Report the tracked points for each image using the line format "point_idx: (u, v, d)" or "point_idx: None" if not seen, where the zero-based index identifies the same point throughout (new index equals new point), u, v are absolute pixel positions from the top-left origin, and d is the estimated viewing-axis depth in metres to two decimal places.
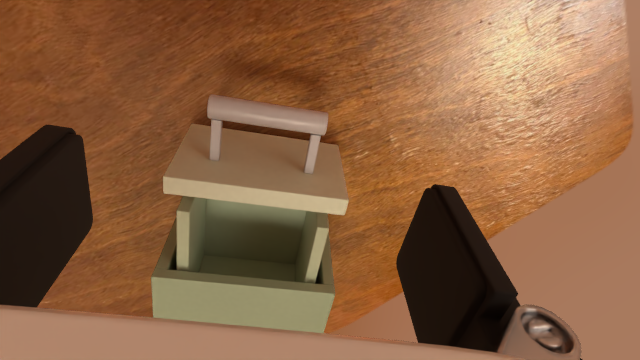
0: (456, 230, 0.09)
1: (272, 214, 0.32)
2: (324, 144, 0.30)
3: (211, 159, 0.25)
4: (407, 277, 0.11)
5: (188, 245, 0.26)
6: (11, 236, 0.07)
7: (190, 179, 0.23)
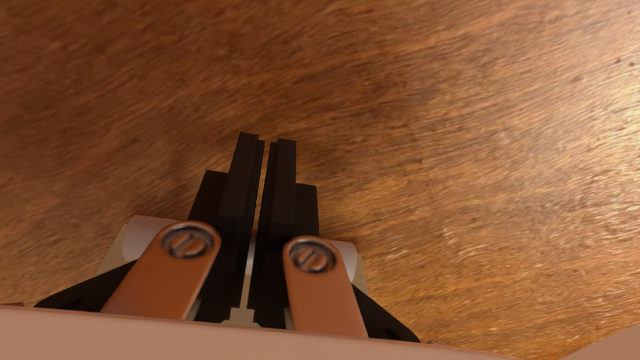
0: (272, 174, 0.10)
1: None
2: None
3: None
4: (257, 229, 0.12)
5: None
6: None
7: None
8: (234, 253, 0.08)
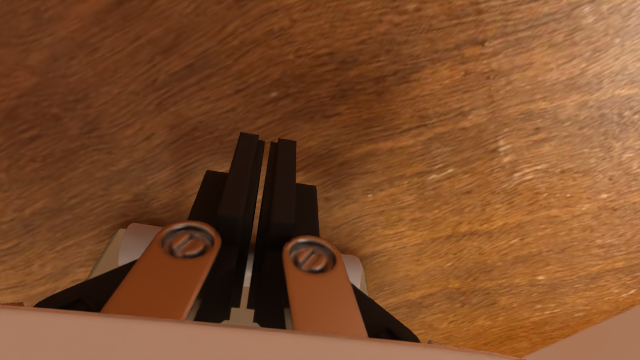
0: (272, 174, 0.10)
1: None
2: None
3: None
4: None
5: None
6: None
7: None
8: (234, 253, 0.08)
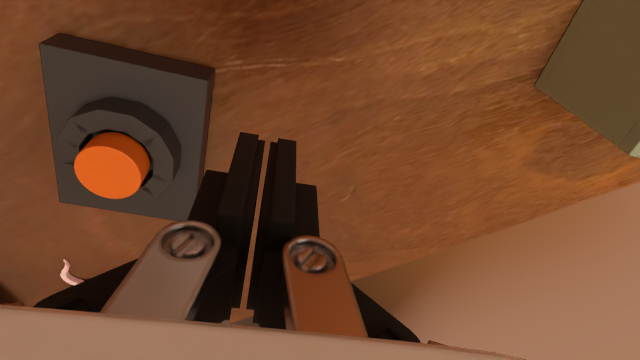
0: (272, 174, 0.10)
1: None
2: None
3: None
4: (257, 229, 0.12)
5: None
6: None
7: None
8: (234, 253, 0.08)
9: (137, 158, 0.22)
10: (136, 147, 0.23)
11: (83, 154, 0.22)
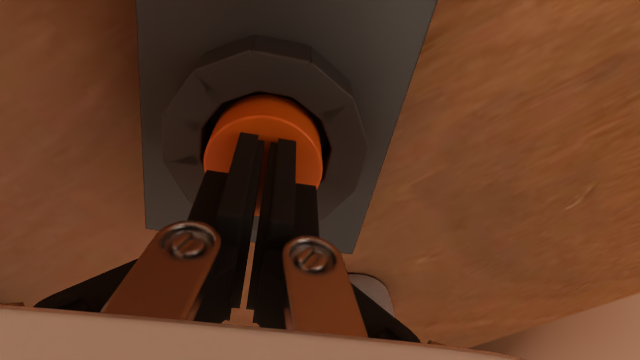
0: (271, 174, 0.10)
1: None
2: None
3: None
4: (257, 229, 0.12)
5: None
6: None
7: None
8: (234, 253, 0.08)
9: (316, 139, 0.12)
10: (309, 120, 0.12)
11: (225, 134, 0.11)
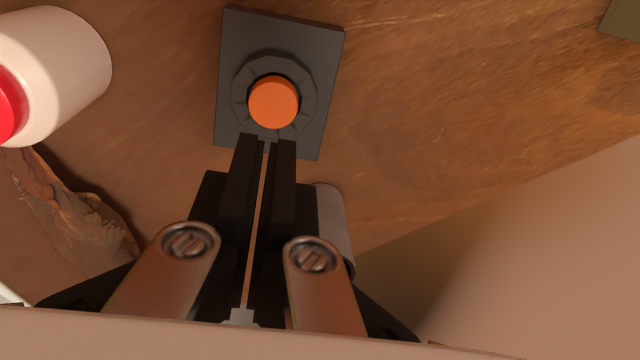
0: (272, 174, 0.10)
1: None
2: None
3: None
4: (257, 229, 0.12)
5: None
6: None
7: None
8: (234, 253, 0.08)
9: (295, 93, 0.29)
10: (292, 86, 0.29)
11: (257, 89, 0.28)
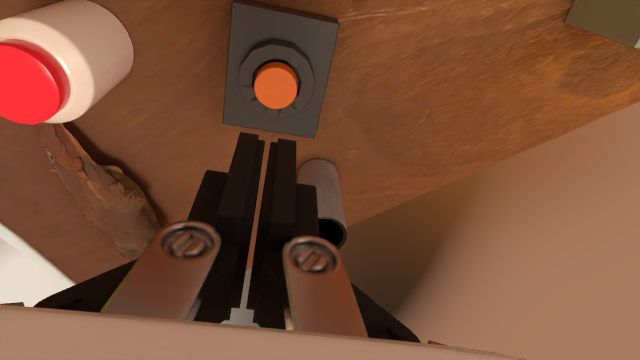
0: (272, 174, 0.10)
1: None
2: None
3: None
4: (257, 229, 0.12)
5: None
6: None
7: None
8: (234, 253, 0.08)
9: (295, 77, 0.33)
10: (292, 71, 0.33)
11: (262, 74, 0.32)
